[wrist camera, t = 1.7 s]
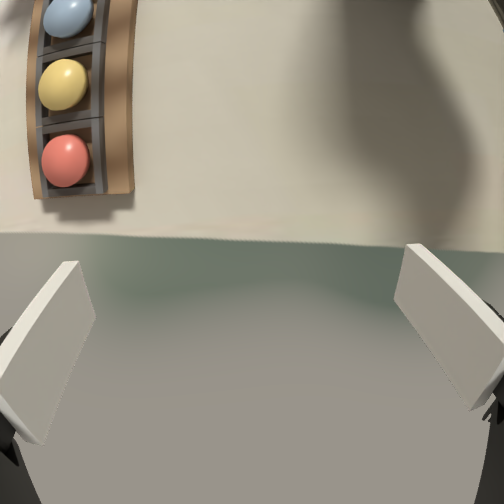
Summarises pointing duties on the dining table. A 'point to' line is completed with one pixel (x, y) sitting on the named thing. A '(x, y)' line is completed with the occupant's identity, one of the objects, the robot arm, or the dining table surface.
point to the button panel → (86, 99)
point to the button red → (65, 160)
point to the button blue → (67, 17)
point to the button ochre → (63, 84)
